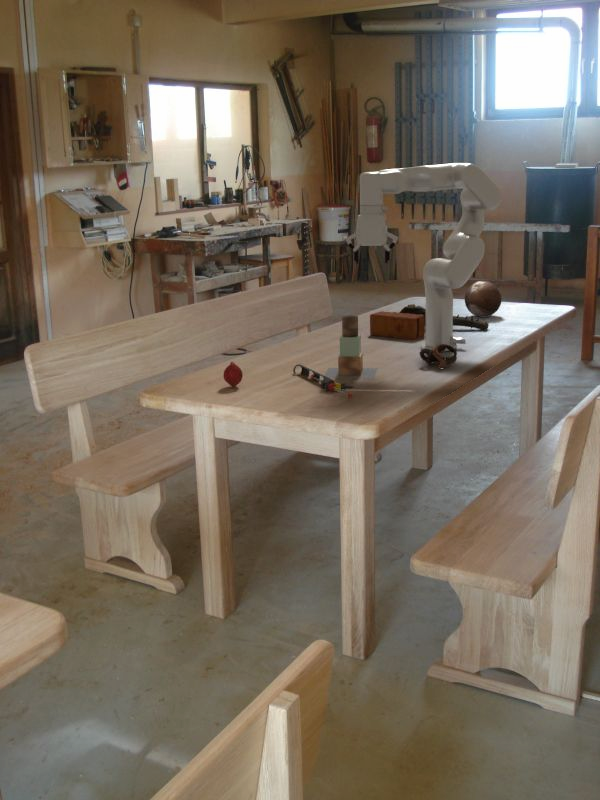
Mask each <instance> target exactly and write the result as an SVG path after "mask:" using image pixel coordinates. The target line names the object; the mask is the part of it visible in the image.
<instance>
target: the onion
mask: <svg viewBox="0 0 600 800" xmlns="http://www.w3.org/2000/svg"><path fill="white" fill-rule="evenodd" d="M243 376H244V374H243V371H242V369H241V368H240V367H239V366H238V364H236V363H235V362H234V361H231V362H229V364H228V365H227V367H225V369H224V370H223V379H224V381H225V382H226V384H228V385H230V386H231V387H232V388H235V387H237V386H238V385H239V384H240V383H241V382H242V379H243Z"/></svg>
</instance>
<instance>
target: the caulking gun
mask: <svg viewBox="0 0 600 800" xmlns="http://www.w3.org/2000/svg"><path fill="white" fill-rule="evenodd" d="M298 367H300V368H301V372H300V373H301V374H302V373H303V374H304V375H307V376H308V377H310V379H311V381H313V380H316V381H318V382H320V386H321V388H322V390H324V389H325V391H326V390H327V391H326V392H328V391H331V392H334V391H340V392H339V393H342V394H344V395H346V396H347V398H348V399H352V398H353V393H352V392H348V393H347V392H346V391H344V390H342V389H347V388H348V389H353V387H354V386H351V385H347V384H346V383H339V382H335V380H334V379H333V378H328V377H326V376H324V375H325V374H322V373H319V372H317V371H315V370H313V369H310V368H308V367H307V366H304V365H302V364H300V363H298V364H296V365H294V367H293V369H292V371H293V373H294V375H296V374H297V373H296V368H298ZM310 372H312V374H311V375H310ZM321 377H322V380H321Z"/></svg>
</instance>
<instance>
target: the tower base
mask: <svg viewBox="0 0 600 800" xmlns="http://www.w3.org/2000/svg"><path fill="white" fill-rule="evenodd" d="M363 356H364V355H363V352H362V351H361V353H360V356H359V357H340V353H339V354H338V356H337V361H338V362H337V363H338V364H337V366H338V367H337V368H338V375H342V376H361V374H362V371H363V368H364V365H363V364H364V363H363V362H364V361H363V359H364V357H363Z"/></svg>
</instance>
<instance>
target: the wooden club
mask: <svg viewBox="0 0 600 800" xmlns="http://www.w3.org/2000/svg"><path fill="white" fill-rule="evenodd" d="M398 313H405V314H406V313H409V314H416V315H420V314H422V315H424V316H425V308H424V307H422V306H420V305H416V304H415V303H412V304H407V306H403V308H401V310H400V311H399V312H398ZM480 318H481V317H478V318H474V315H473V316H471V317H469V316H468V315H466V316H460V314H459V313H458V314H457V315H453V327H467V328H470V329H473V328H474V329H478V330H481V331H487V330H488V328H489V323H488V322H487V321H482V320H480Z"/></svg>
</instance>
